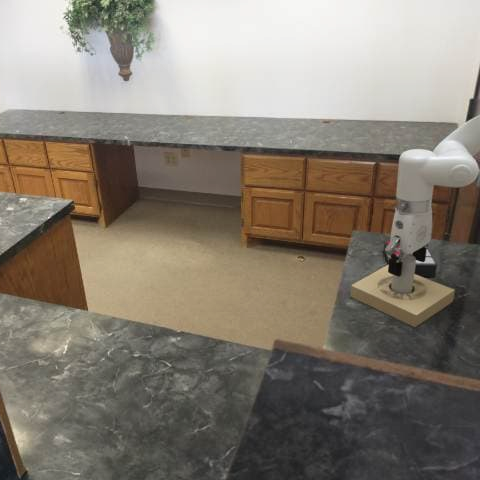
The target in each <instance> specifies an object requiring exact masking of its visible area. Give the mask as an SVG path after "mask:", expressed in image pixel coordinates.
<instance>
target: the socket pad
mask: <svg viewBox="0 0 480 480" xmlns="http://www.w3.org/2000/svg"><path fill="white" fill-rule="evenodd" d="M388 266H389V264H387V265H385V266H383V267H381V268H379V269H378V270H376V271H374V272H372V273H371V274H369V275H367V276H365V277H363V278H362V279H360V280H358V281H356V282H354V283H353V284H351V285H350V295H349V296H350V298H352V299H354V300H357V301H359V302H360V303H362V304H365V305H367V306H368V307H371V308H374V309H376V310H377V311H380V312H381V313H384V314H386V315H388V316H390V317H392V318H394V319H396V320H398V321H399V322H402V323H404V324H407V325H409V326H411V327H413V328H416V327H418V326H419V325H421V324H422V323H424V322H425V321H427V320H429V319H430V318H431V317H433V316H434V315H435V314H437V313H438V312H440V311H441V310H444V308H446V307H448V306H449V305H451V304H452V303H453V302H454V298H455V292H456V289H455V288H451V287H448V286H446V285H443V284H441V283H439V282H436V281H434V280H432V279H428V278H427V277H421V276H418V275H416V274H414V279H413V286H412V293H410V294H399V293H396V292H393V291H392V290H391V286H392V277H393V274H390V273H389V272H388Z"/></svg>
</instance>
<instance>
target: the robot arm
mask: <svg viewBox="0 0 480 480" xmlns="http://www.w3.org/2000/svg"><path fill="white" fill-rule="evenodd" d="M479 152H480V114H479V115H476V116H475V117H472V118H471V119H469V120H467V121H465V122H464V123H463V124H461V125H460V126H458V127H457V128H456V129H455V130H453V131H452V132H451V133H450V134H449V135H447V136H446V137H445V138H443V139H442V140H441V141H440V142H439V144H437V145H436V146H435V148H434V149H433V150H432V151H431V150H430V149H429V150H428V149H425V148H424V149H423V148H414V149H413V148H412V149H408V150H405V151H403V152H402V153H401V154H400V156H399V158H398V168H397V177H396V179H397V180H396V189H395V190H396V192H395V204H394V210H395V211H394V216H393V218H392V226H391V230H390V240H389V241H390V243H389V245H388V246H387V247H386V248H385V252H386V256H387V258H388V259H389V264H388V265H389V266H388V272H389V273H390V274H393V275H395V276H398V277H400V276H401V273H402V263H403V262H401V260H402V258H403V256H404V254H411V253H412V256H414V257H415V258H416V260H418V261H420V262H425V259H426V250H427V248H428V246H429V243H430V242H431V241H432V231H433V229H434V226H433V209H432V201H433V193H434V186H440V187H446V188H463V187H467V186H469V185H471V184H472V183H473V182H475V181H476V180H477V178H478V176H479V172H480V167H479V163H478V162H477V160H476V159H475V158H474V156H475V155H476V154H477V153H479ZM397 247H401V249H399V248H397ZM426 247H427V248H426ZM396 251H398V252H400V253H399V255H398V257H397V256H396V255H395V252H396ZM386 256H385V257H386Z"/></svg>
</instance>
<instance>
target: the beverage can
mask: <svg viewBox="0 0 480 480" xmlns="http://www.w3.org/2000/svg"><path fill="white" fill-rule="evenodd" d="M398 255H399V254H398ZM398 255H396V256H397V257H398ZM401 262H403V263H402V273H401V276H400V277H398V276H395V275H393V277H392V286H391V290H392V291H393V292H396V293H399V294H410V293H412V286H413V279H414V273H415V266H416V258H415V257H414V256H412V255H410V254H404V256H403V258H402V260H401Z"/></svg>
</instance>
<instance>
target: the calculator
mask: <svg viewBox="0 0 480 480" xmlns="http://www.w3.org/2000/svg"><path fill="white" fill-rule="evenodd" d="M389 243H390V240H386V241H385V242H384V243H383V253H384V256H385V259H386V262H387V265H389V259H388V258H387V256H386V252H385V248H386V247H387V246H388V245H389ZM397 248H399V249H401V247H397ZM426 248H427V250H426V259H425V262H420V261H418V260H416V266H415V273H414V274H416V275H418V276H421V277H423V278H435V277H436V276H437V268H438V267H437V266H438V265H437V263H436V260H435V259H434V256H432V254H431V252H430V250H429V248H428V246H427V247H426ZM399 253H400V252H398V251H396V252H395V255H398V254H399ZM410 255H412V253H411V254H410Z"/></svg>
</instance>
